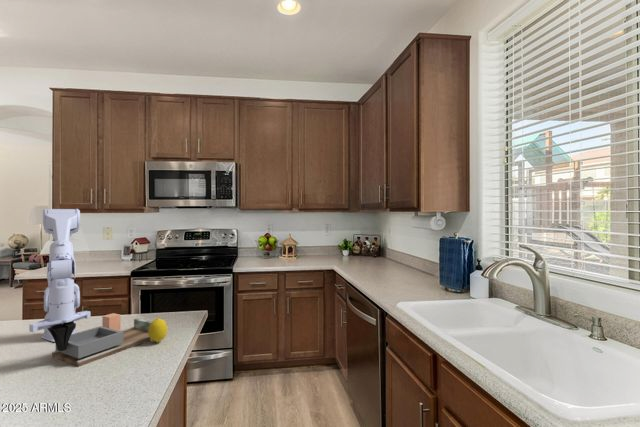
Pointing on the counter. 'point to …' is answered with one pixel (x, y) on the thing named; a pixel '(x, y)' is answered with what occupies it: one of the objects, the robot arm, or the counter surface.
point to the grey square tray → (92, 341)
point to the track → (130, 339)
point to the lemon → (157, 330)
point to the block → (111, 321)
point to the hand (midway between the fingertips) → (61, 349)
